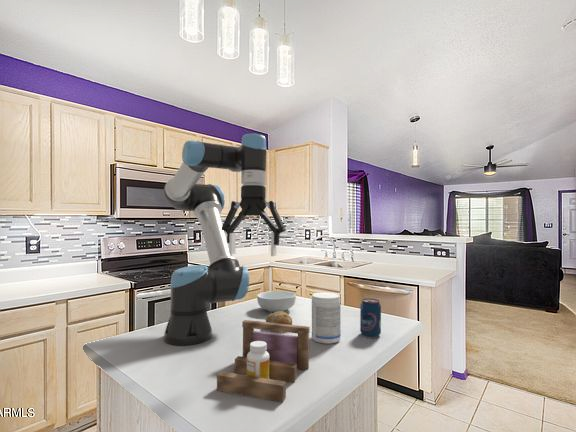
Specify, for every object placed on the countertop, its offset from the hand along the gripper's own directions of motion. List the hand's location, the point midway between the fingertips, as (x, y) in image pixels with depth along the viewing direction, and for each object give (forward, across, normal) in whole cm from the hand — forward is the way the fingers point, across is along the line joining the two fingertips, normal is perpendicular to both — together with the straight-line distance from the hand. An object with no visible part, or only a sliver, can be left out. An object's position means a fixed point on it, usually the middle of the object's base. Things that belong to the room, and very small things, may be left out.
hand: (252, 255), depth 100 cm
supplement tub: (+29, +20, +16) cm, 39 cm away
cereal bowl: (+29, -7, +44) cm, 53 cm away
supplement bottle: (+29, +10, -19) cm, 36 cm away
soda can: (+29, +34, +25) cm, 51 cm away
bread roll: (+29, +2, +22) cm, 37 cm away
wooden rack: (+29, +10, -15) cm, 34 cm away
